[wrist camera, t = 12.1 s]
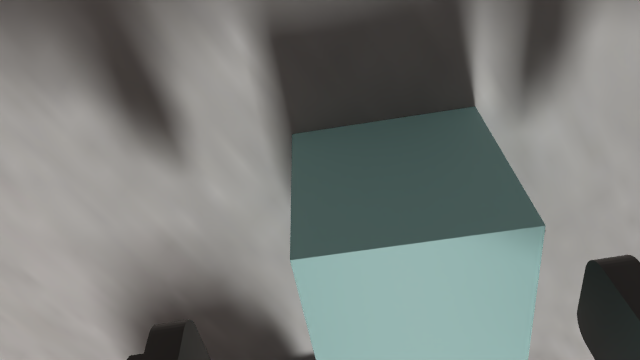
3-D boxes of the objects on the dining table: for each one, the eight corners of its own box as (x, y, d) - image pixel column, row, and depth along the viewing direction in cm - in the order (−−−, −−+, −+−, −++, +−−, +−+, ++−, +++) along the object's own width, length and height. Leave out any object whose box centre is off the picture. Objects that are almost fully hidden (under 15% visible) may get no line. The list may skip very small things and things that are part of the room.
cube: (474, 105, 13) (545, 226, 9) (471, 240, 15) (525, 376, 12) (292, 132, 13) (290, 260, 9) (320, 261, 16) (326, 400, 12)
